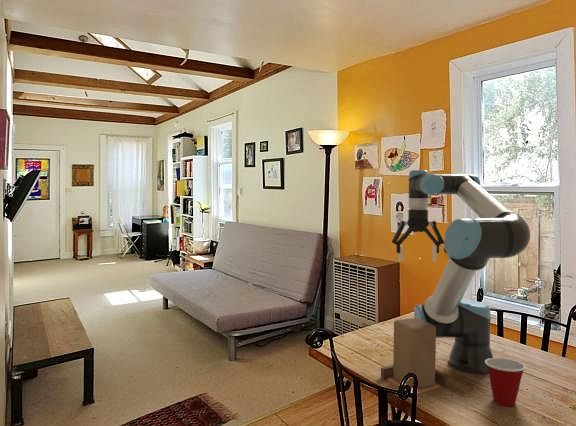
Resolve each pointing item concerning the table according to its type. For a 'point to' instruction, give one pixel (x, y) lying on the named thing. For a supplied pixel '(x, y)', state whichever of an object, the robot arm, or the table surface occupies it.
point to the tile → (418, 389)
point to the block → (414, 351)
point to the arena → (439, 377)
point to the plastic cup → (505, 379)
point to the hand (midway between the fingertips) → (417, 261)
